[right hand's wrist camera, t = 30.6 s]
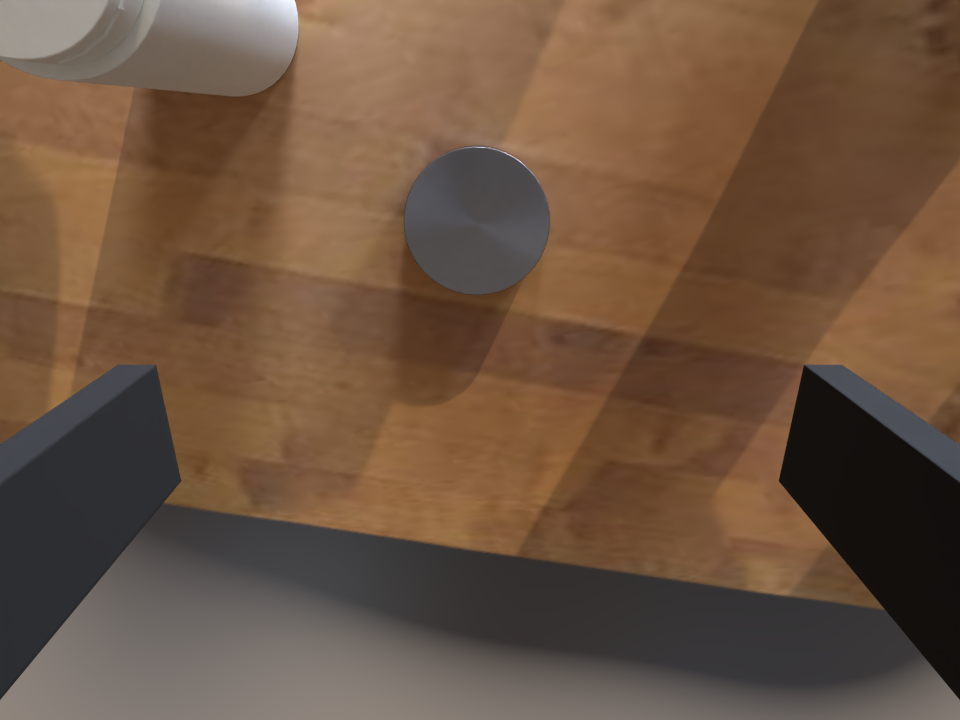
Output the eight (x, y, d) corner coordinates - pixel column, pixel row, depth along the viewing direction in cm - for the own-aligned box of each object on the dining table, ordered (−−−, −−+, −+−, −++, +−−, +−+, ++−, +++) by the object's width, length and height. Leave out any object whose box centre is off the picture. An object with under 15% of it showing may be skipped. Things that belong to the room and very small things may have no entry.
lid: (379, 221, 39) (373, 227, 37) (474, 113, 37) (473, 112, 35) (479, 312, 41) (479, 322, 39) (575, 216, 39) (580, 221, 37)
